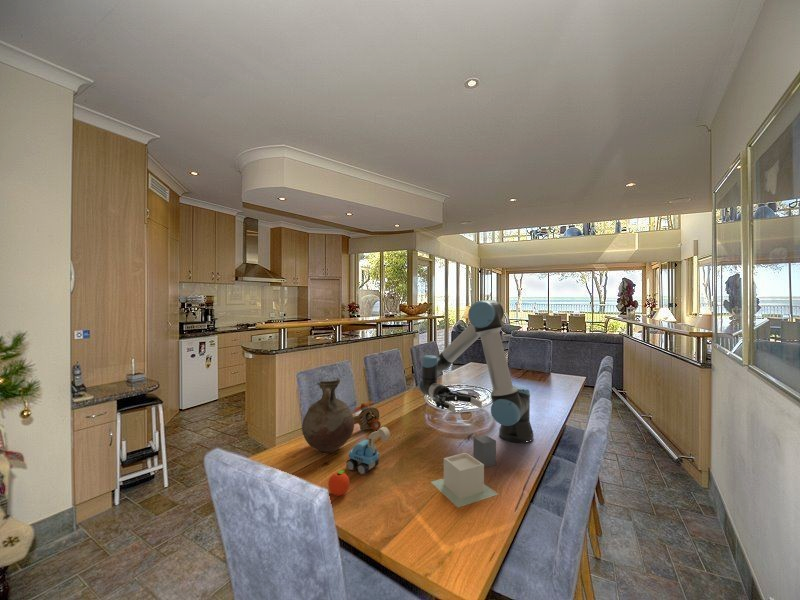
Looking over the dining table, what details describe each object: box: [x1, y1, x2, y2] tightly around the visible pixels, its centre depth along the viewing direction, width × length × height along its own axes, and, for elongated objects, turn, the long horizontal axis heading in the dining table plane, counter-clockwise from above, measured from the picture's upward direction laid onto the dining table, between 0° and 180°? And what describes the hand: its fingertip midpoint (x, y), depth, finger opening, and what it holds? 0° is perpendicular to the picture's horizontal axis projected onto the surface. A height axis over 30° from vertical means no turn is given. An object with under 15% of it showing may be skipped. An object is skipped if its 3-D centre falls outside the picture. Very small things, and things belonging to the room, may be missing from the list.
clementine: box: [327, 470, 351, 497], centre depth 114 cm, size 8×7×7 cm
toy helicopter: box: [352, 400, 382, 432], centre depth 166 cm, size 8×21×14 cm, turn 123°
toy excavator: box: [346, 426, 391, 476], centre depth 129 cm, size 9×17×17 cm, turn 58°
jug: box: [301, 377, 355, 455], centre depth 146 cm, size 22×22×30 cm
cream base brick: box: [443, 452, 485, 499], centre depth 115 cm, size 10×10×9 cm
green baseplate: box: [430, 477, 499, 508], centre depth 115 cm, size 16×16×1 cm
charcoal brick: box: [472, 434, 497, 468], centre depth 133 cm, size 6×6×10 cm
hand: (468, 406), depth 142 cm, fingers open, 13 cm apart
